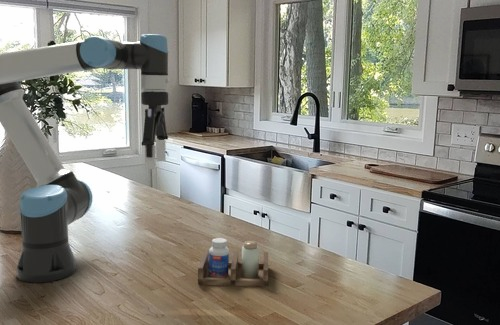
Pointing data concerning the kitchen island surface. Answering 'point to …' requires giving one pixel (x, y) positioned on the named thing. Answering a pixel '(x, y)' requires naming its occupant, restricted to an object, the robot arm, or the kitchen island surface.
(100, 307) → the kitchen island surface
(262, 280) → the rack
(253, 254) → the jar
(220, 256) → the pill bottle
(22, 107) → the robot arm
